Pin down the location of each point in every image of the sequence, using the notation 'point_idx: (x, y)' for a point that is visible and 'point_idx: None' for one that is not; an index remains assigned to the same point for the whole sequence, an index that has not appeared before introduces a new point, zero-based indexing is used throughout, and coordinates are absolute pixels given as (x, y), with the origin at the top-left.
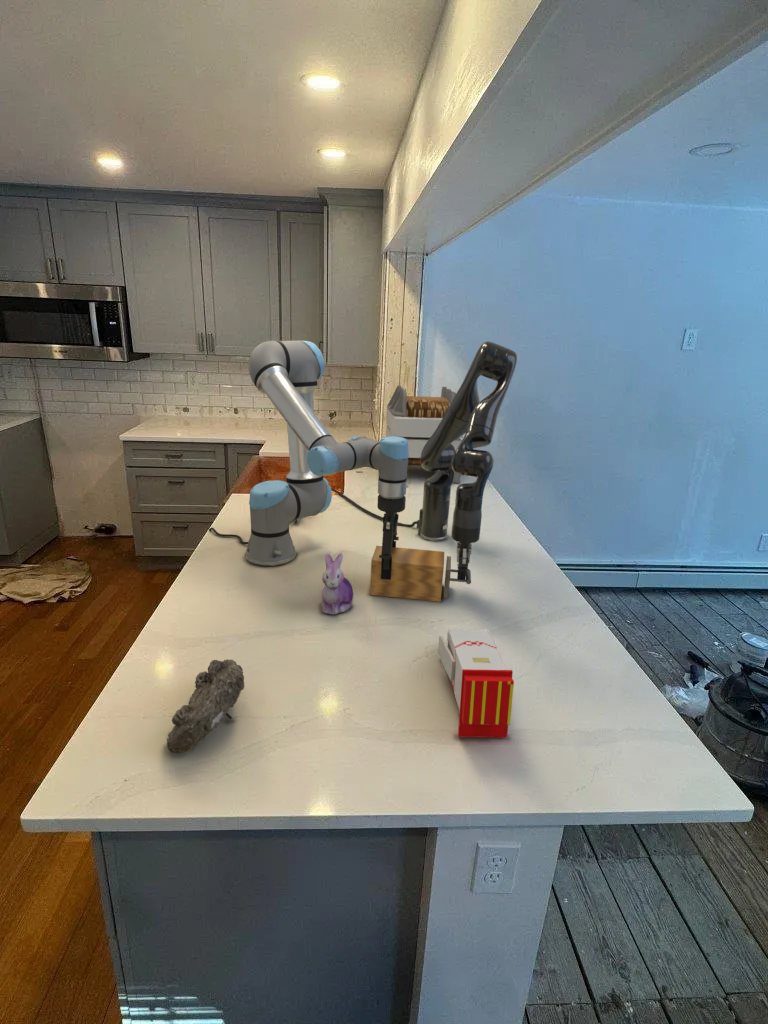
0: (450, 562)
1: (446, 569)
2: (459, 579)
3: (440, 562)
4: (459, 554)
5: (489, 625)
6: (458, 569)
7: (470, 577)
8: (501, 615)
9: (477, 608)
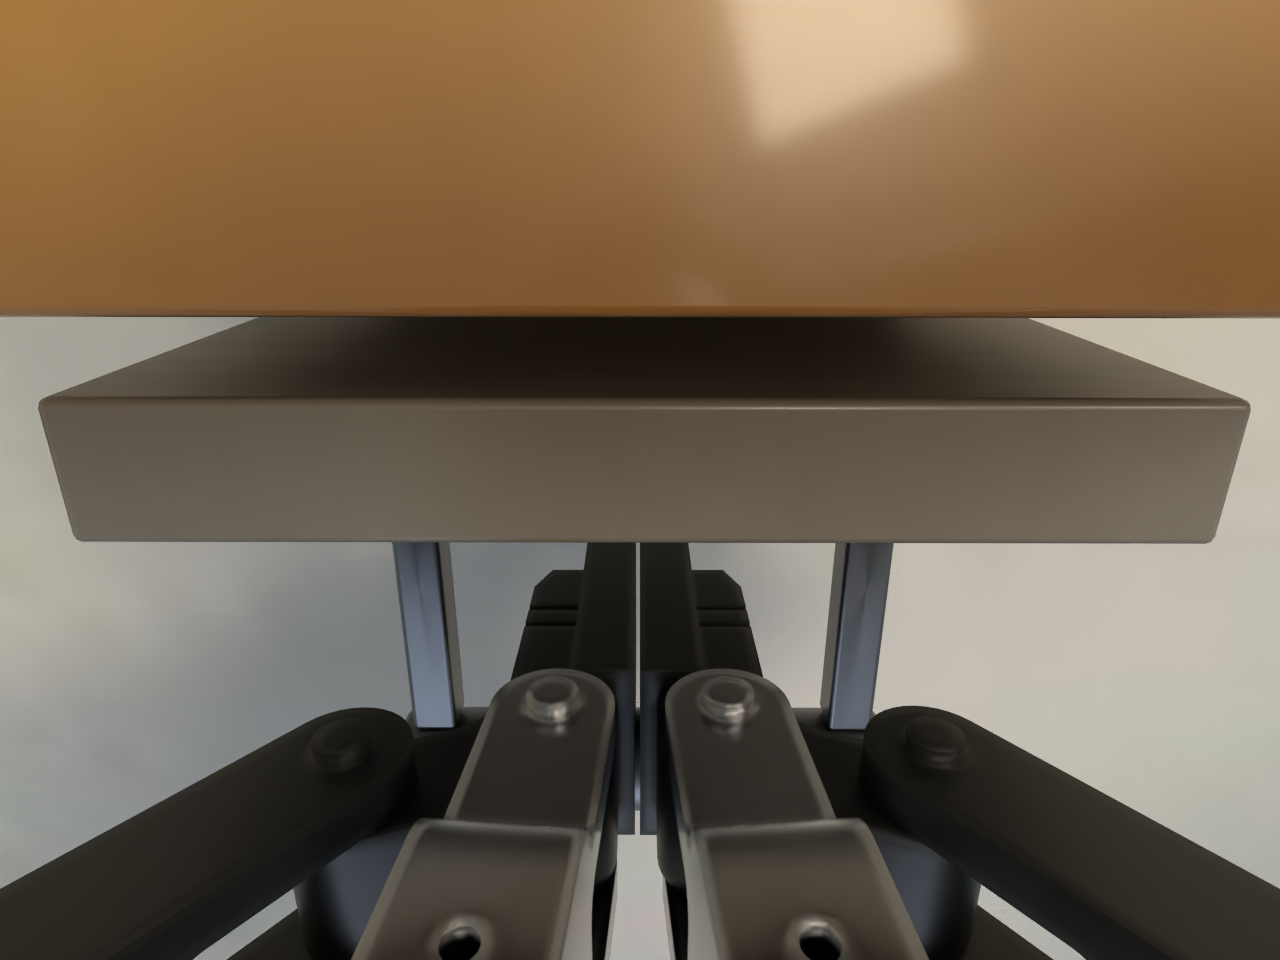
0: (689, 530)
1: (61, 402)
2: (410, 618)
3: (178, 145)
4: (1067, 912)
5: (6, 779)
6: (277, 742)
7: None
8: None
9: (338, 682)
